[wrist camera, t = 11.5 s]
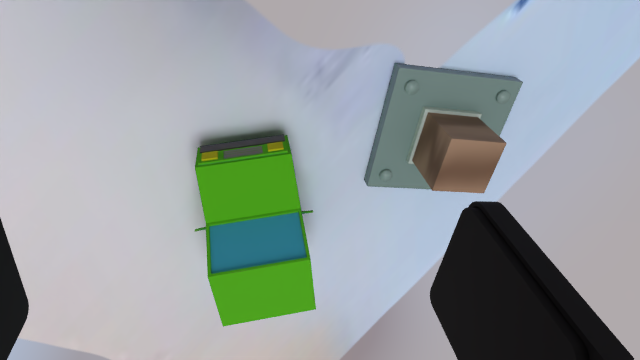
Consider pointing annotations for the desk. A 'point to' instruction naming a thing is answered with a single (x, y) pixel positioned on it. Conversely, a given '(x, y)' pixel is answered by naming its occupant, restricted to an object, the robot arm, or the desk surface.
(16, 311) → the robot arm
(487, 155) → the walnut cube
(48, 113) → the desk surface
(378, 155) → the baseplate
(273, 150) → the toy car
